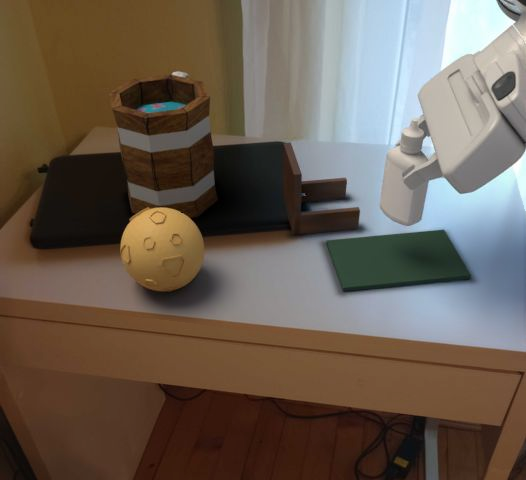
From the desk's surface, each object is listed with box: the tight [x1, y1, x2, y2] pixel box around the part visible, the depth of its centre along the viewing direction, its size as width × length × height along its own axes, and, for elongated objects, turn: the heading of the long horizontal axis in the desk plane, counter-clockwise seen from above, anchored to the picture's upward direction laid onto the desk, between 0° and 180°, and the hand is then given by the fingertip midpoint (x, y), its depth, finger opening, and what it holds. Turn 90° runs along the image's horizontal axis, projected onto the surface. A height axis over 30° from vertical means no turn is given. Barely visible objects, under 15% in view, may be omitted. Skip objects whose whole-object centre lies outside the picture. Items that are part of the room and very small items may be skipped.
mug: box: [108, 70, 219, 219], centre depth 89 cm, size 20×14×15 cm
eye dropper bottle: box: [379, 117, 430, 227], centre depth 72 cm, size 4×6×12 cm
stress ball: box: [119, 207, 205, 292], centre depth 75 cm, size 10×10×10 cm
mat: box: [325, 229, 472, 292], centre depth 80 cm, size 16×10×1 cm, turn 97°
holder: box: [282, 141, 361, 236], centre depth 85 cm, size 9×9×9 cm
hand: (402, 167), depth 72 cm, fingers closed on eye dropper bottle, 5 cm apart
